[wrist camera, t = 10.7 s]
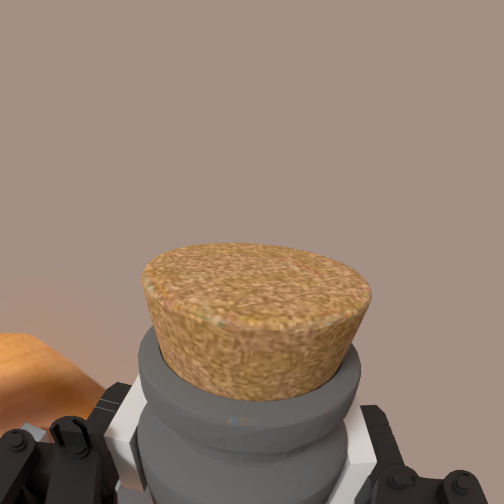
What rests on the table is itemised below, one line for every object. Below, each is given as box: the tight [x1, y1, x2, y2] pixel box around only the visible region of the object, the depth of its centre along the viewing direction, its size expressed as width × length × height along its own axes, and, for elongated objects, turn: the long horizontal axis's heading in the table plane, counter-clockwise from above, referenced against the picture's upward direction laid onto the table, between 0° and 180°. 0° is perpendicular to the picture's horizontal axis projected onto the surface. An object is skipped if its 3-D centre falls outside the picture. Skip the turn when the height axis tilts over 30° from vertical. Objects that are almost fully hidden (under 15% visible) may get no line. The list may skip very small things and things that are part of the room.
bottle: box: [137, 243, 372, 504], centre depth 9 cm, size 6×6×15 cm
